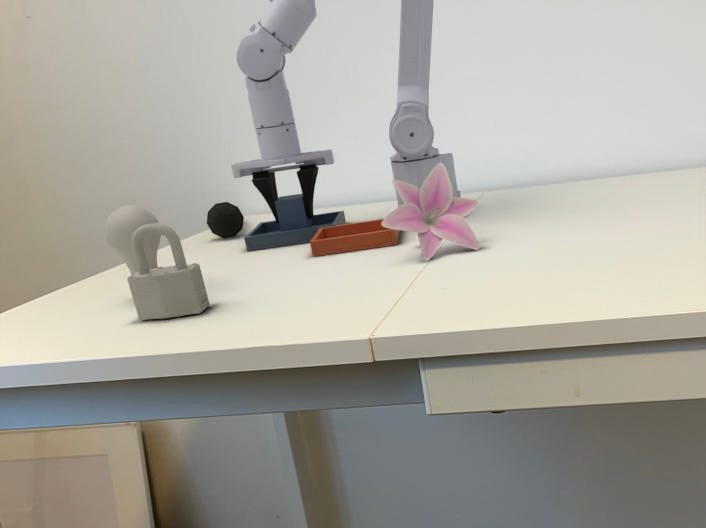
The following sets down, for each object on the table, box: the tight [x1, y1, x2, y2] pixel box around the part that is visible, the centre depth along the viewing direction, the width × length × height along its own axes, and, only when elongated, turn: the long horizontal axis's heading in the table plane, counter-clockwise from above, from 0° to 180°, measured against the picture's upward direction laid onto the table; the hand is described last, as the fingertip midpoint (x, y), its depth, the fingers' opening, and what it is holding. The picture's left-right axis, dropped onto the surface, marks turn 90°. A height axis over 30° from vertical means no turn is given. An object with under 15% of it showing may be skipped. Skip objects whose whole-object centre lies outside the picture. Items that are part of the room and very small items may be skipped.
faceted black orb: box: [206, 201, 245, 239], centre depth 134 cm, size 6×6×20 cm
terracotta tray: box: [309, 218, 401, 257], centre depth 110 cm, size 11×9×2 cm
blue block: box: [275, 193, 313, 232], centre depth 119 cm, size 4×4×5 cm
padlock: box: [127, 222, 211, 321], centre depth 86 cm, size 7×4×10 cm, turn 87°
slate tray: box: [243, 210, 347, 252], centre depth 120 cm, size 13×11×2 cm
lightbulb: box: [104, 204, 162, 275], centre depth 96 cm, size 6×6×11 cm
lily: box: [381, 163, 481, 262], centre depth 98 cm, size 12×12×10 cm
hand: (295, 219), depth 120 cm, fingers closed on blue block, 4 cm apart
